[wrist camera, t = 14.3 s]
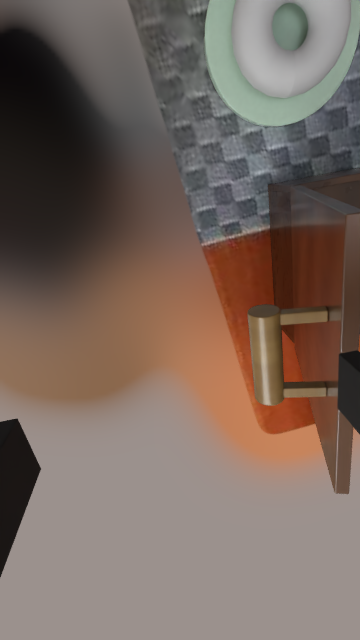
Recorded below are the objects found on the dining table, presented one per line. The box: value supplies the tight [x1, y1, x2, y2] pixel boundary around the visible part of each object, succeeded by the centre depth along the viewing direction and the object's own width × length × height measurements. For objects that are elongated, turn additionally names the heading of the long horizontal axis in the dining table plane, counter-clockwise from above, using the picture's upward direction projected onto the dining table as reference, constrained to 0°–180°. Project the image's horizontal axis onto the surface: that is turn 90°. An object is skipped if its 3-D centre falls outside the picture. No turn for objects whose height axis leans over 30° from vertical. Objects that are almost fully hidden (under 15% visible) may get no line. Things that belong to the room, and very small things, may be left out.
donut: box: [231, 0, 351, 98], centre depth 27 cm, size 10×4×10 cm
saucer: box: [204, 0, 360, 127], centre depth 29 cm, size 14×14×1 cm
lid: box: [248, 185, 360, 494], centre depth 24 cm, size 17×16×5 cm
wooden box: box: [268, 168, 360, 344], centre depth 35 cm, size 16×16×7 cm
